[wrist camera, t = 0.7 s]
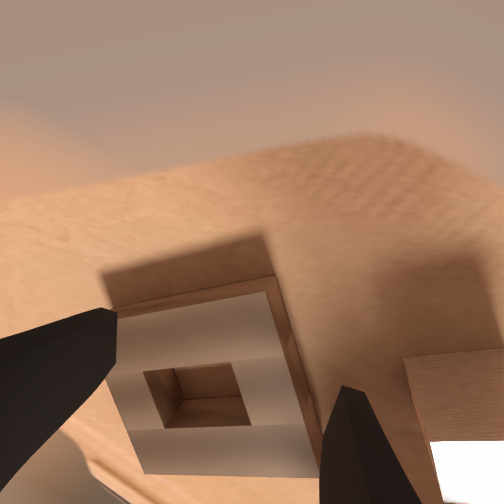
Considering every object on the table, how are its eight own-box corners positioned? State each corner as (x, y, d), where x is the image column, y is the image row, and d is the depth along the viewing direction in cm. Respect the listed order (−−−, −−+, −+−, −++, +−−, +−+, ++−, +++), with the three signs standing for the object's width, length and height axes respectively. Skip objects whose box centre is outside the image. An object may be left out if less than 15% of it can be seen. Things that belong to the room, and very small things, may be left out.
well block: (323, 439, 21) (321, 478, 18) (165, 442, 25) (144, 474, 22) (275, 274, 19) (265, 291, 16) (112, 308, 23) (83, 325, 20)
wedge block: (512, 396, 17) (597, 509, 11) (412, 401, 18) (443, 502, 13) (504, 347, 16) (589, 440, 11) (402, 357, 18) (430, 442, 12)
